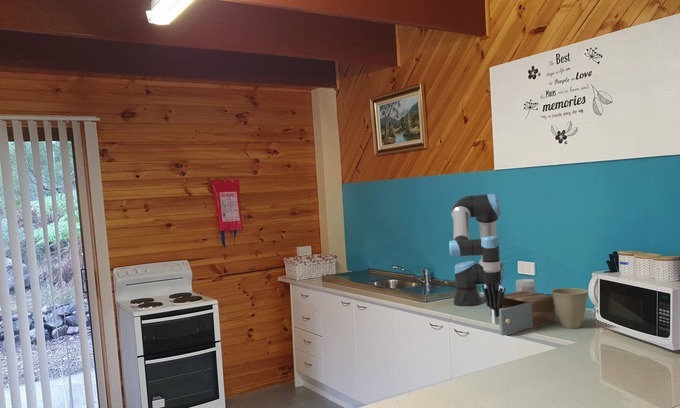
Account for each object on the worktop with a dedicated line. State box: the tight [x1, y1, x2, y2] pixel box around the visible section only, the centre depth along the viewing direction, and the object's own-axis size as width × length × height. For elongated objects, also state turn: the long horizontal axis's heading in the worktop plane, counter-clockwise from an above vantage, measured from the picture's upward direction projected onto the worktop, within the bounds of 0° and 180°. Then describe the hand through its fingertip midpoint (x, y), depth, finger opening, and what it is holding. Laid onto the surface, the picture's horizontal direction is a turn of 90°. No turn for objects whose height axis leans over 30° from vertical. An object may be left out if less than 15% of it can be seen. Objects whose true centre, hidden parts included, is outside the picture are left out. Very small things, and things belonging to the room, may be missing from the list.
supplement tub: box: [515, 278, 537, 293], centre depth 279 cm, size 10×10×15 cm
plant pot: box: [551, 287, 589, 329], centre depth 239 cm, size 15×15×16 cm
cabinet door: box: [499, 302, 534, 336], centre depth 236 cm, size 20×3×11 cm, turn 121°
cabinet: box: [501, 291, 557, 328], centre depth 254 cm, size 20×14×12 cm
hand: (495, 323), depth 239 cm, fingers closed
